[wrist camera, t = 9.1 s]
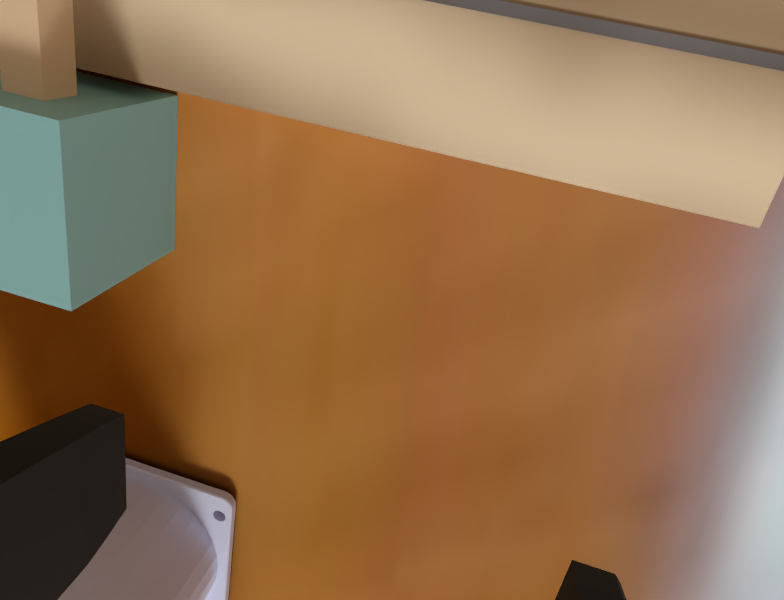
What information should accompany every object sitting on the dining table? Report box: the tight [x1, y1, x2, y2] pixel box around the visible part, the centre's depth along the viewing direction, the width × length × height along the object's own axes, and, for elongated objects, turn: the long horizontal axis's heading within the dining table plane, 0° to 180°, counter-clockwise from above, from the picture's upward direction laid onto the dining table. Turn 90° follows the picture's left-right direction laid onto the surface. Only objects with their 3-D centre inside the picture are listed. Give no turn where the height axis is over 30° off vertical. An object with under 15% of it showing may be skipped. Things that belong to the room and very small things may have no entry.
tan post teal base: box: [0, 0, 178, 311], centre depth 16 cm, size 12×4×5 cm, turn 170°
